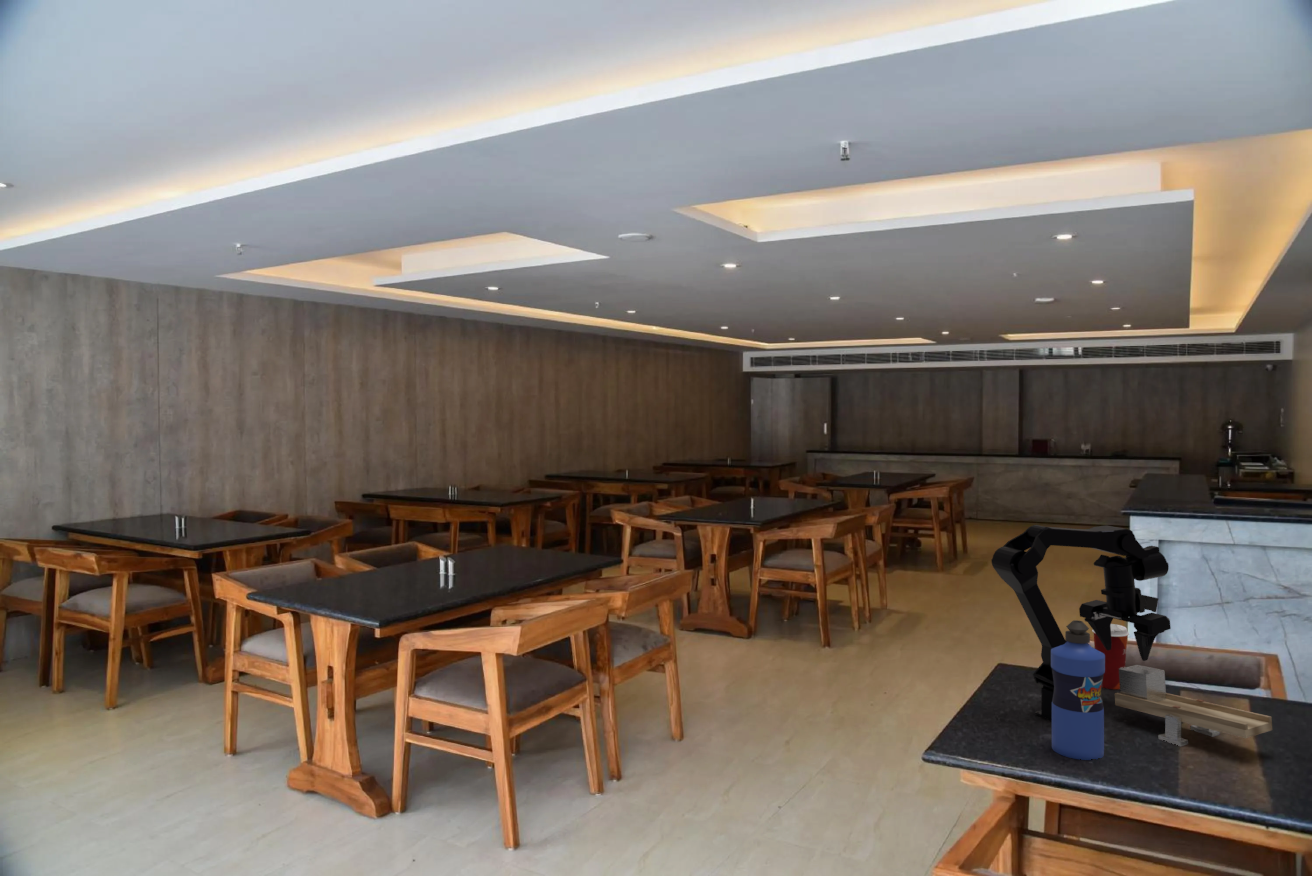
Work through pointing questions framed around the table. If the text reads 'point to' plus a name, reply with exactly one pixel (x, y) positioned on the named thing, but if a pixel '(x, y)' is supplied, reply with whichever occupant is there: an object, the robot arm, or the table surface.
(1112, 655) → the paper cup
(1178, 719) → the pivot stand
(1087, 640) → the water bottle
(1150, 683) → the metal block
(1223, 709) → the oak beam
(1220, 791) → the table surface
